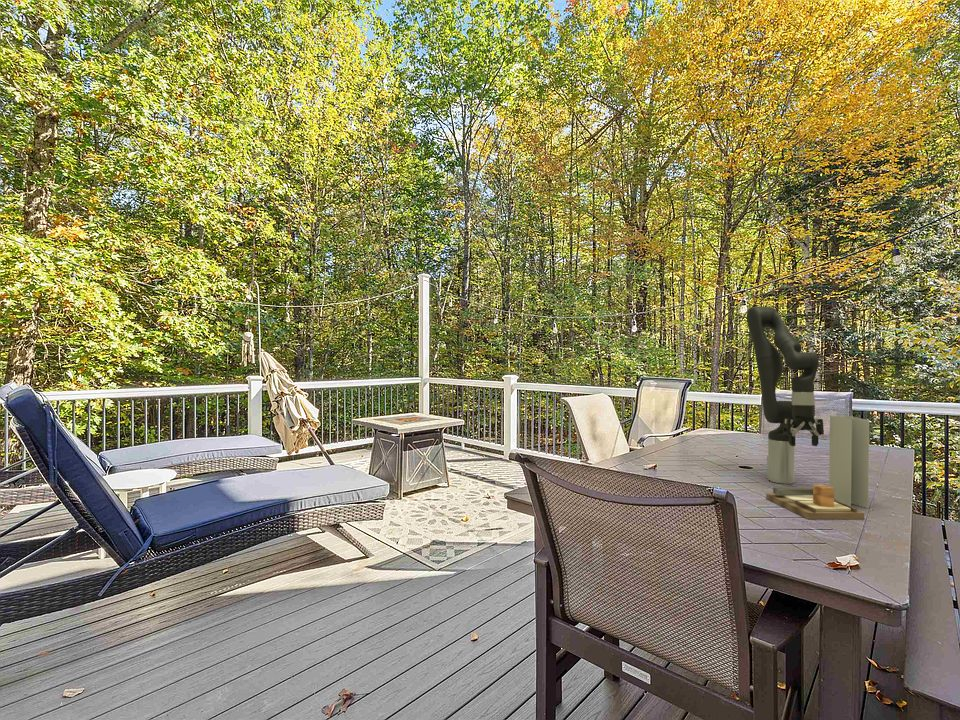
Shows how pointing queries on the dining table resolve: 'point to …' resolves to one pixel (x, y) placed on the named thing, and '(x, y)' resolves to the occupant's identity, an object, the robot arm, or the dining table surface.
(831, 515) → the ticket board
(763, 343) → the robot arm
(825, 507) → the wooden block on base
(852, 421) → the folded green panel
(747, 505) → the dining table surface
